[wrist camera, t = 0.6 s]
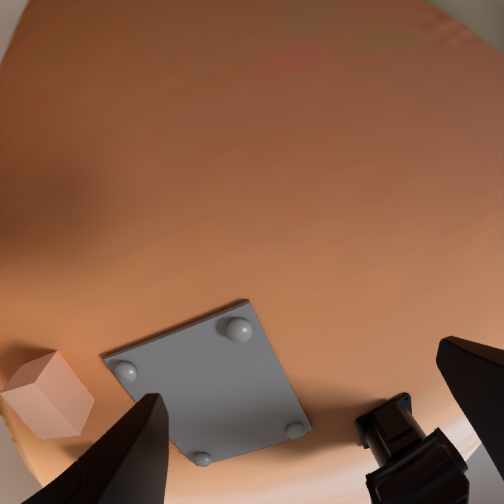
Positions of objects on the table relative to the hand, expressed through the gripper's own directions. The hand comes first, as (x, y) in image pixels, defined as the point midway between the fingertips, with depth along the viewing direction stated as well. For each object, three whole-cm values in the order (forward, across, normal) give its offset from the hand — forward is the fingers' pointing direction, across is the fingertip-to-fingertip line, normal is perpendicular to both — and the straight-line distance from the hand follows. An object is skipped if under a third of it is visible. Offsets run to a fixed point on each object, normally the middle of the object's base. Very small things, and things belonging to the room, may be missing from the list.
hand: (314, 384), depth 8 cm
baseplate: (+14, +5, +13) cm, 19 cm away
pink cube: (+14, +20, +10) cm, 27 cm away
